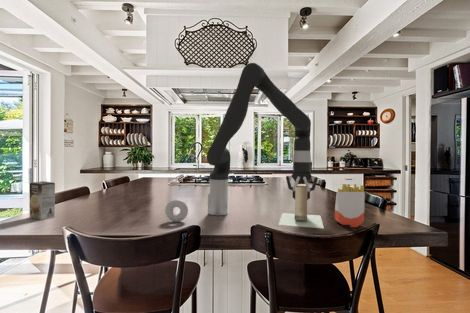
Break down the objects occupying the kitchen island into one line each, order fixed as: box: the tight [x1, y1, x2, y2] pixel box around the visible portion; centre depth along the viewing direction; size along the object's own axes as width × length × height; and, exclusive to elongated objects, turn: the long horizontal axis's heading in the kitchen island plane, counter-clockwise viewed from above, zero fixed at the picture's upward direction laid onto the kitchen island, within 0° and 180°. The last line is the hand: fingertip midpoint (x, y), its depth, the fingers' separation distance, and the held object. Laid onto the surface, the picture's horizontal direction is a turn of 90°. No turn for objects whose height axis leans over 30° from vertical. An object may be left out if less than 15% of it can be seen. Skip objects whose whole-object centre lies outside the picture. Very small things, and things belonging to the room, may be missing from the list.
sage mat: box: [278, 212, 325, 229], centre depth 122 cm, size 18×22×1 cm
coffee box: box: [29, 181, 56, 221], centre depth 125 cm, size 9×6×16 cm
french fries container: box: [334, 183, 366, 228], centre depth 117 cm, size 5×11×18 cm, turn 91°
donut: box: [164, 198, 189, 223], centre depth 120 cm, size 10×4×10 cm, turn 89°
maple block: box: [294, 184, 308, 220], centre depth 122 cm, size 5×14×10 cm
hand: (301, 199), depth 121 cm, fingers closed on maple block, 4 cm apart
